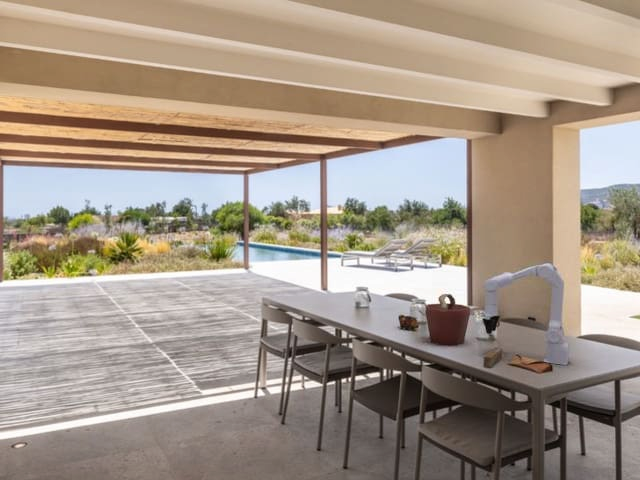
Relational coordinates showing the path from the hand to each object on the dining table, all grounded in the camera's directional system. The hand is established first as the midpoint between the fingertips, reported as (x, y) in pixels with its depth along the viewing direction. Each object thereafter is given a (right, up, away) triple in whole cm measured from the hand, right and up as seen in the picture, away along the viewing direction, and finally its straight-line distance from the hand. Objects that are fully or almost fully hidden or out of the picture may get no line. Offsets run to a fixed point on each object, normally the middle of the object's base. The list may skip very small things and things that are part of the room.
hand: (491, 332), depth 246 cm
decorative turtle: (-30, -9, +56) cm, 64 cm away
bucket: (-16, -10, +24) cm, 30 cm away
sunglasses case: (+8, -12, -24) cm, 28 cm away
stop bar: (-4, -11, -16) cm, 20 cm away
